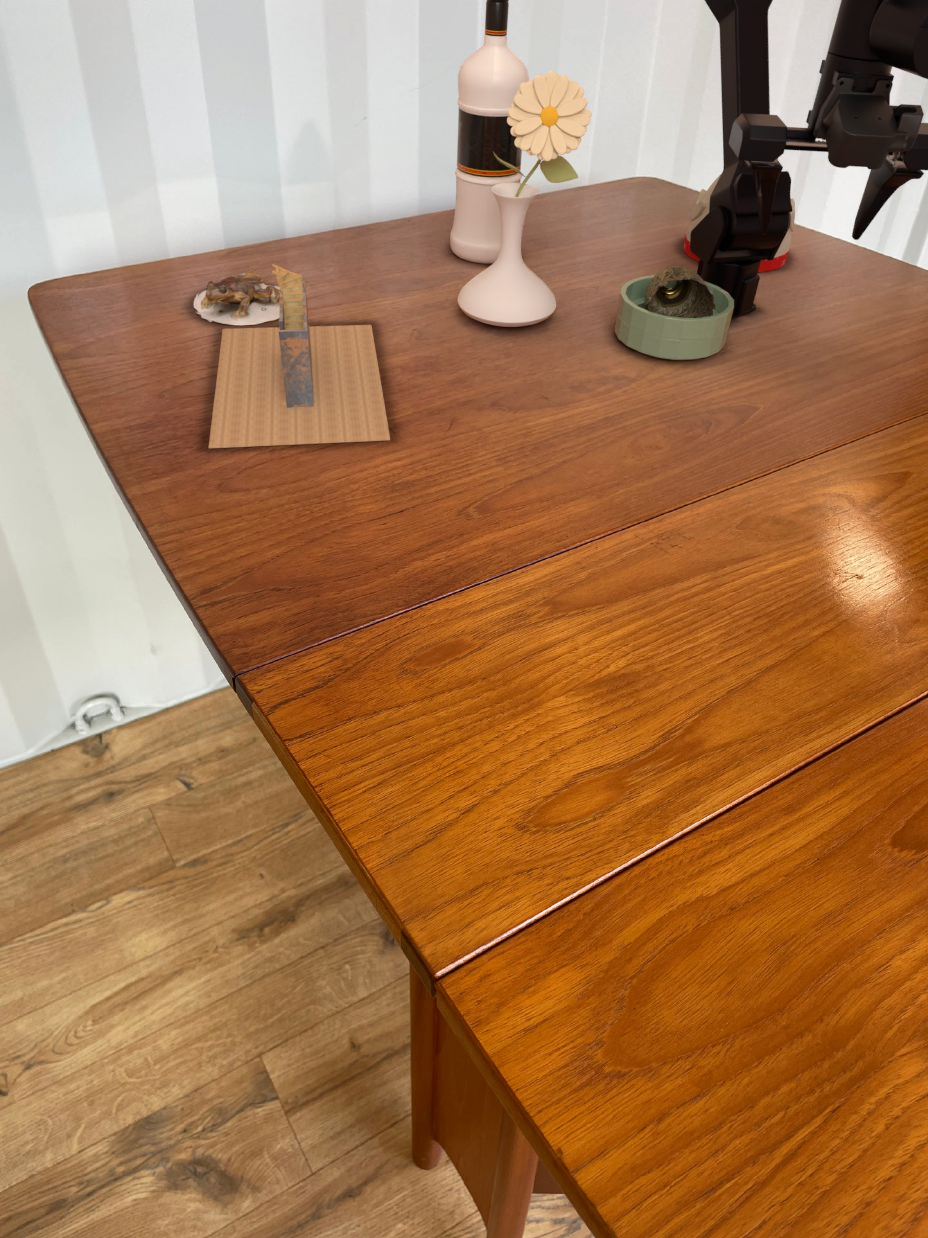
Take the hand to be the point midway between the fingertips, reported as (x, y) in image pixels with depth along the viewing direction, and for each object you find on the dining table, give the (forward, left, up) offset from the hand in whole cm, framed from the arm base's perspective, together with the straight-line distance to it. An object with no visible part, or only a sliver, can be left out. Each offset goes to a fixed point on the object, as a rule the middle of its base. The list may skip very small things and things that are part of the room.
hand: (808, 235), depth 89 cm
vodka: (-42, -5, -13) cm, 44 cm away
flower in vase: (-25, -16, -13) cm, 32 cm away
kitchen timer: (-22, +23, -13) cm, 34 cm away
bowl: (-10, -6, -13) cm, 17 cm away
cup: (-14, -2, -8) cm, 16 cm away
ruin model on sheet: (-27, -44, -13) cm, 53 cm away
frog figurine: (-46, -39, -13) cm, 62 cm away
